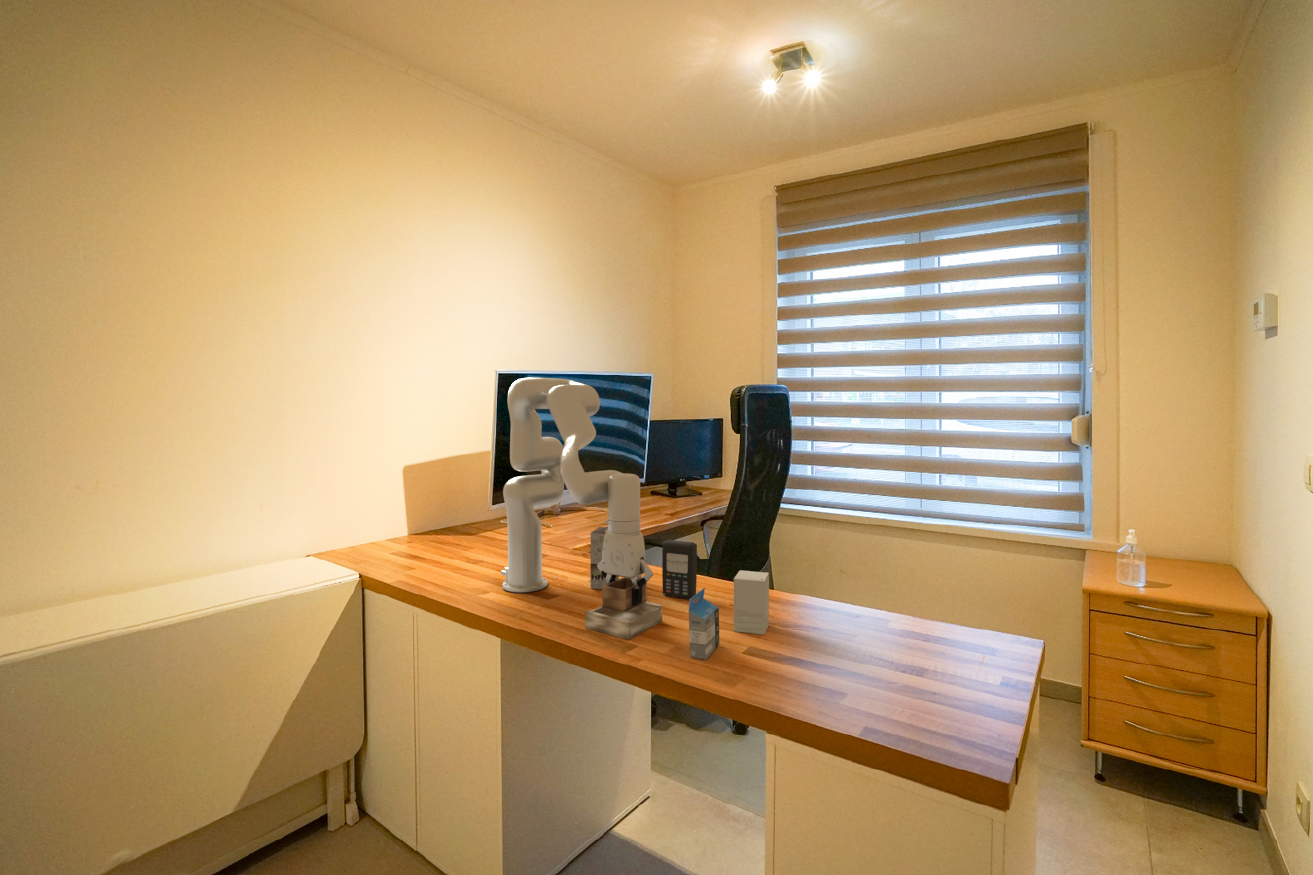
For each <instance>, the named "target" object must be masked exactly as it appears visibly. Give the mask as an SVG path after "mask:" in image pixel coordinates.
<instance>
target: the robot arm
mask: <svg viewBox="0 0 1313 875" xmlns="http://www.w3.org/2000/svg"><path fill="white" fill-rule="evenodd" d="M600 407H601V400H600V396H599V394H598V392H597V390H596V389H595V388H594V387H593V386H591V385H588V384H585V383H582V382H578V381H575V380H571V379H567V378H553V377H552V378H551V377H524V378H518V379H517V380H515V381H514V382H512V384H511V386H510V387H509V389H508V392H507V408H508V412H509V420H510V438H509V440H510V441H509V460H510V461H509V462H510V465H511V467H512V468H513V469H514V470H515V471H518V472H536V471H541V473H539V474H531V475H530V474H528V475H520V476H515V477H513V478H510V479H508V481H507V482H506V483H505V484H504V486H503V489H502V490H503V491H502V494H503V500H504V506H505V511H506V513H505V514H506V520H507V521H506V523H507V527H506V528H507V530H506V531H507V566H505V567H504V568H503V570H501V571H500V575H501V576H503V577H504V576H505V580H504V581H503V582H502V588H503V590H505V591H507V592H510V593H511V592H512V593H531V592H536V591H541V590H543V589H545V588H546V587H547V586H548V579H547V578H546V577H543V553H542V552H543V551H542V550H543V549H542V548H543V547H542V546H543V542H542V541H543V540H542V539H543V534H542V533H543V531H542V530H543V528H542V521H541V519H540V516H538V514H537V513H536V511H535V509H539V508H546V507H551V506H552V507H553V506H555V505H557V504H559V503H560V502H561V501H562V499H563V496H564V490H565V487H566V489H567V491H568V493H569V495H570V497H571V498H572V499H573V500H574V501H575V503H576V502H577V504H579V505H592V504H597V503H604V502H605V503H606V502H607V503H608V504H607V508H608V509H607V516H608V518H607V519H606V520H604V522H605V525H606V526H607V527H608V531H606V533H605V537H604V542H603V551H602V560H601V561H600V562H599V563H598V564H597V567H598V568H599V570H600V571H601V573H602V575H603V577H604V578H605V582H606V583H607V584H609V583H611V582H614V581H615V580H616V577H617V576H619V577H622V578H623V577H627V578H631V580H632V583H633V586H634V588H633V589H632V605H633V606H636V605H638V604H640V603H641V602H642V587H643V586H644V585H645V584H646V583H647V584H648V582H649V580H650V579H651V578H652V577H653V576H654V572H653V571H652V569H651V568H650V567H649V566H648V564H647V559H646V558H647V557H646V548H645V539H644V535H643V532H641V480H640V479H641V478H640V476H638V475H637V474H634V473H623V472H620V471H618V470H615V469H614V470H613V469H608V470H607V469H606V470H596V471H588V472H587V471H586V472H585V471H584V468H583V466H582V464H581V462H580V459H579V451H580V450H582V449H583V448H585V447H587V446H588V445H589V444H591V442H593V441H594V439H595V437H596V435H597V429H596V428H595V426H594V424H593V422H592V420H591V418H590V417H592V416H594V415H596V414H597V412H599V410H600ZM536 410H549V412H550V414H551V417H552V419H553V421H554V424H555V425H556V427H557V429H558V432H559V434H560V437H561V438H562V441H563V442H564V446H563V443H562V442H561V441H560V440H559V439H558V438H556V437H553V436H543V435H542V432H543V431H542V430H543V429H542V428H543V426H542V425H543V424H542V420H541V417H540V416H539V413H538V412H537V411H536ZM637 579H638V581H637Z"/></svg>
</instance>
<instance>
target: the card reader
mask: <svg viewBox="0 0 1313 875" xmlns="http://www.w3.org/2000/svg"><path fill="white" fill-rule="evenodd" d="M661 560H662V561H661V563H662V565H661V566H662V594H663V595H665V596H666V597H673V598H674V597H675V598H680V599H686V600H690V599H691V598H692V597H693V596H694V595H696V594H697V581H698V580H697V578H698V577H697V576H698V575H697V574H698V573H697V572H698V571H697V570H698V567H697V566H698V544H697V543H696V542H693V541H682V540H672V539H668V540H664V541H663V542H662V558H661Z"/></svg>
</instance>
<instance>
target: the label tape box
mask: <svg viewBox="0 0 1313 875" xmlns="http://www.w3.org/2000/svg"><path fill="white" fill-rule="evenodd" d="M705 590H706V588H705V587H703V588H701V590H699V591H698V592H696V595H694V596H693V597H692V598H691V599H688V600H689V601H688V629H689V630H688V632H689V634H688V636H689V637H688V638H689V639H688V640H689V657H690V658H694V659H699V660H707V659H709V657H710V656H711V654H712V653H713V652H714V651H715V650H716V649H717V647H718V646H720V607H718V606H717V605H715V604H714V603H712V602H710V601H708V600H706V599H705V598H704V596H705ZM697 599H698V600H697Z"/></svg>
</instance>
